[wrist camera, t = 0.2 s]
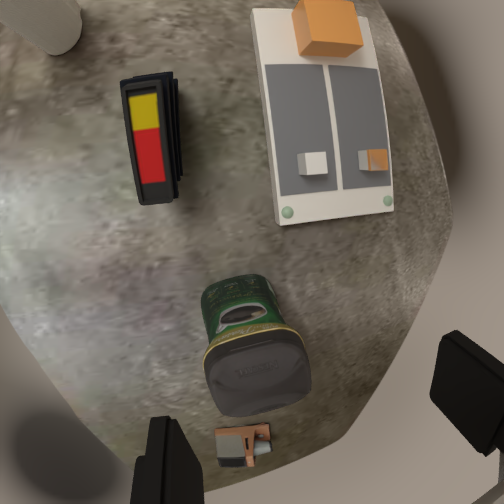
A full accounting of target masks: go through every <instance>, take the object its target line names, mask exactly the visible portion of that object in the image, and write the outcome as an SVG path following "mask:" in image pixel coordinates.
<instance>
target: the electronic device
mask: <svg viewBox="0 0 504 504" xmlns="http://www.w3.org/2000/svg"><path fill="white" fill-rule="evenodd" d="M270 438H271V437H270V431H269V424H265V423H264V422H262V423H261V424H258V425H253V426H250V425H238V426H233V427H230V428H216V429H215V439H216V449H217V451H216V452H217V459H218V462H219V466H220V467H232V468H233V467H247V466H249V467H250V466H255V459H256V458H255V457H256V455H260V454H263V453H267V452H272V451H273V449H272V444H271V441H266V440H270Z"/></svg>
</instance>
